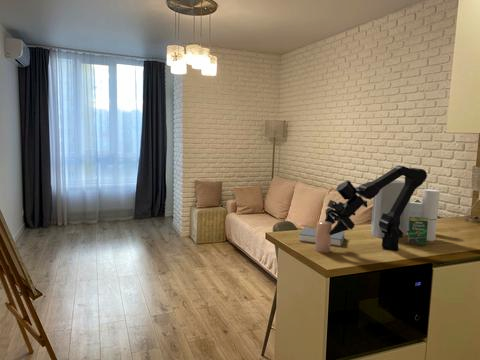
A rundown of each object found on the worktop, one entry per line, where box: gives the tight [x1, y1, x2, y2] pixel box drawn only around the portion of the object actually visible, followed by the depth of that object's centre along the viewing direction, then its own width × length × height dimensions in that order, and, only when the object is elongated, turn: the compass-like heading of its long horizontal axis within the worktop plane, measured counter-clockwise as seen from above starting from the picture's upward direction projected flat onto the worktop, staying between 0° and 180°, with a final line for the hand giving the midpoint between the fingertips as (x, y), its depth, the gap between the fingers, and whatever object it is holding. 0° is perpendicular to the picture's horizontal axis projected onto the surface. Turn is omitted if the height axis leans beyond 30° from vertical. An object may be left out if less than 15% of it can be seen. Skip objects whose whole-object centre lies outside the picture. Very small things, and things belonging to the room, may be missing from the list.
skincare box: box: [407, 201, 423, 232], centre depth 198 cm, size 21×5×16 cm, turn 58°
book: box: [298, 227, 345, 247], centre depth 175 cm, size 20×14×4 cm
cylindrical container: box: [421, 188, 441, 242], centre depth 180 cm, size 7×7×25 cm
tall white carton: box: [370, 178, 411, 239], centre depth 190 cm, size 19×15×28 cm
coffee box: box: [407, 217, 428, 247], centre depth 172 cm, size 8×3×13 cm, turn 68°
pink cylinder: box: [314, 220, 333, 254], centre depth 158 cm, size 6×6×12 cm
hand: (325, 231), depth 158 cm, fingers open, 9 cm apart
